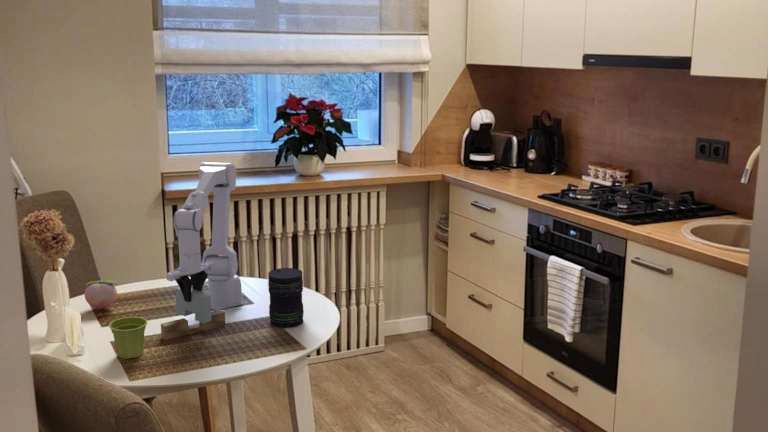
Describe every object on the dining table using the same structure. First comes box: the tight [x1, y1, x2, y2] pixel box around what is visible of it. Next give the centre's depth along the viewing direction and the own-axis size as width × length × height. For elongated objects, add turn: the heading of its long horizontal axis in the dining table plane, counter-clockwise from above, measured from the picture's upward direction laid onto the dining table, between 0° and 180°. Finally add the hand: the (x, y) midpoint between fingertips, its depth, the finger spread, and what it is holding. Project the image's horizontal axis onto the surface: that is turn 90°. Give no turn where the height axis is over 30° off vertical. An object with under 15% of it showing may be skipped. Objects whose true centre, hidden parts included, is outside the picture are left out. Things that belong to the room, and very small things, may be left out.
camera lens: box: [267, 267, 305, 329], centre depth 221 cm, size 10×10×15 cm
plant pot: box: [108, 316, 148, 360], centre depth 198 cm, size 9×9×9 cm
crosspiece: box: [174, 286, 212, 323], centre depth 213 cm, size 12×3×8 cm, turn 52°
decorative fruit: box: [83, 277, 118, 310], centre depth 232 cm, size 9×8×10 cm
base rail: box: [160, 309, 226, 341], centre depth 215 cm, size 18×3×4 cm, turn 129°
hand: (192, 299), depth 213 cm, fingers closed on crosspiece, 3 cm apart
